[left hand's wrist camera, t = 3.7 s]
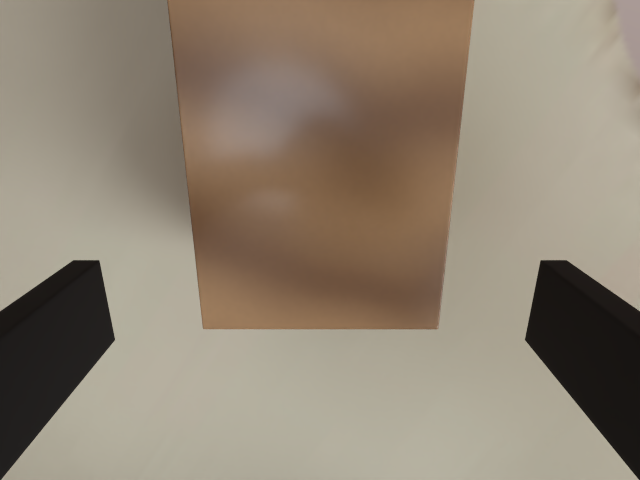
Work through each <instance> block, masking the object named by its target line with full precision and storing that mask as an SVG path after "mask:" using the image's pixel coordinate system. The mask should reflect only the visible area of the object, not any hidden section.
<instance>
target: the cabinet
mask: <svg viewBox="0 0 640 480" xmlns="http://www.w3.org/2000/svg"><path fill="white" fill-rule="evenodd" d="M167 1H168V10H169V20H170V29H171V38H172V47H173V57H174V66H175V75H176V84H177V93H178V103H179V112H180V121H181V130H182V139H183V149H184V158H185V167H186V176H187V186H188V195H189V204H190V213H191V222H192V232H193V241H194V250H195V259H196V268H197V278H198V287H199V296H200V305H201V315H202V324H203V329H438V326H439V317H440V308H441V299H442V290H443V281H444V272H445V263H446V254H447V244H448V235H449V226H450V217H451V208H452V199H453V190H454V181H455V172H456V163H457V153H458V144H459V135H460V126H461V117H462V108H463V99H464V90H465V81H466V72H467V62H468V53H469V44H470V35H471V26H472V17H473V8H474V0H167Z"/></svg>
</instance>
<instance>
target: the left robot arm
mask: <svg viewBox="0 0 640 480" xmlns="http://www.w3.org/2000/svg"><path fill="white" fill-rule="evenodd" d="M114 340H115V338H114V333H113V327H112V322H111V317H110V312H109V307H108V302H107V297H106V292H105V287H104V282H103V277H102V272H101V267H100V262H99V260H73V261H72V262H70V263H69V264H68V265H66V266H65V267H63V268H62V269H60V270H59V271H58V272H56V273H55V274H53V275H52V276H50V277H49V278H48V279H46V280H45V281H43V282H42V283H40V284H39V285H38V286H36V287H35V288H33V289H32V290H30V291H29V292H27V293H26V294H25V295H23V296H22V297H20V298H19V299H17V300H16V301H15V302H13V303H12V304H10V305H9V306H7V307H6V308H5V309H3V310H2V311H0V480H1V479H2V478H3V476H4V475H5V474H6V473H7V472H8V470H9V469H10V468H11V467H12V465H13V464H14V463H15V462H16V461H17V459H18V458H19V457H20V456H21V454H22V453H23V452H24V451H25V450H26V448H27V447H28V446H29V445H30V443H31V442H32V441H33V440H34V439H35V437H36V436H37V435H38V434H39V432H40V431H41V430H42V429H43V427H44V426H45V425H46V424H47V423H48V421H49V420H50V419H51V418H52V416H53V415H54V414H55V413H56V412H57V410H58V409H59V408H60V407H61V405H62V404H63V403H64V402H65V401H66V399H67V398H68V397H69V396H70V394H71V393H72V392H73V391H74V389H75V388H76V387H77V386H78V385H79V383H80V382H81V381H82V380H83V378H84V377H85V376H86V375H87V374H88V372H89V371H90V370H91V369H92V367H93V366H94V365H95V364H96V363H97V361H98V360H99V359H100V358H101V356H102V355H103V354H104V353H105V351H106V350H107V349H108V348H109V347H110V345H111V344H112V343H113V342H114ZM525 340H526V342H527V343H528V344H529V345H530V347H531V348H532V349H533V350H534V351H535V353H536V354H537V355H538V356H539V358H540V359H541V360H542V361H543V363H544V364H545V365H546V366H547V367H548V369H549V370H550V371H551V372H552V374H553V375H554V376H555V377H556V378H557V380H558V381H559V382H560V383H561V385H562V386H563V387H564V388H565V389H566V391H567V392H568V393H569V394H570V396H571V397H572V398H573V399H574V401H575V402H576V403H577V404H578V405H579V407H580V408H581V409H582V410H583V412H584V413H585V414H586V415H587V416H588V418H589V419H590V420H591V421H592V423H593V424H594V425H595V426H596V427H597V429H598V430H599V431H600V432H601V434H602V435H603V436H604V437H605V439H606V440H607V441H608V442H609V443H610V445H611V446H612V447H613V448H614V450H615V451H616V452H617V453H618V454H619V456H620V457H621V458H622V459H623V461H624V462H625V463H626V464H627V465H628V467H629V468H630V469H631V470H632V472H633V473H634V474H635V475H636V476H637V478H638V479H639V480H640V311H638V310H637V309H635V308H634V307H633V306H631V305H630V304H628V303H627V302H625V301H624V300H623V299H621V298H620V297H618V296H617V295H615V294H614V293H613V292H611V291H610V290H608V289H607V288H605V287H604V286H602V285H601V284H600V283H598V282H597V281H595V280H594V279H592V278H591V277H590V276H588V275H587V274H585V273H584V272H582V271H581V270H580V269H578V268H577V267H575V266H574V265H572V264H571V263H570V262H568V261H567V260H541V262H540V267H539V272H538V277H537V282H536V287H535V292H534V297H533V302H532V307H531V312H530V317H529V322H528V327H527V333H526V338H525Z"/></svg>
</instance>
